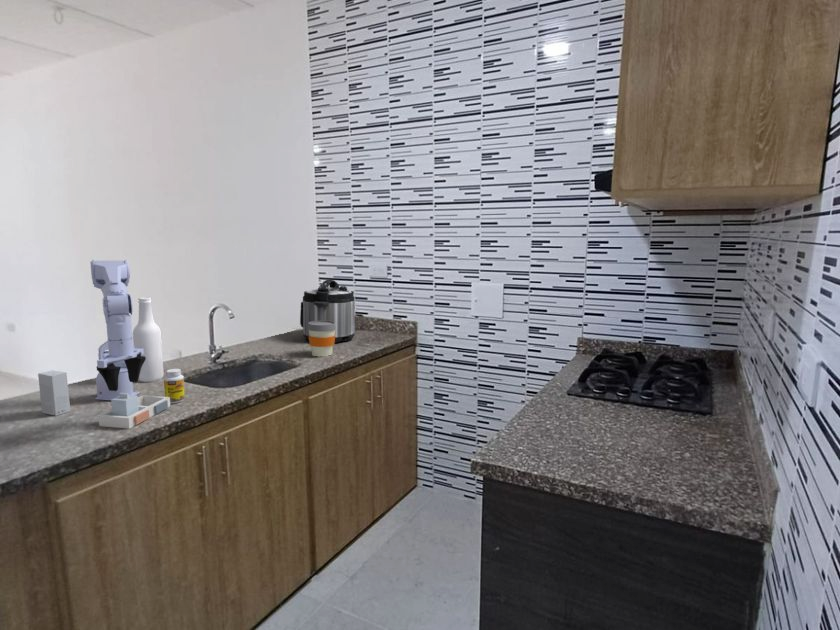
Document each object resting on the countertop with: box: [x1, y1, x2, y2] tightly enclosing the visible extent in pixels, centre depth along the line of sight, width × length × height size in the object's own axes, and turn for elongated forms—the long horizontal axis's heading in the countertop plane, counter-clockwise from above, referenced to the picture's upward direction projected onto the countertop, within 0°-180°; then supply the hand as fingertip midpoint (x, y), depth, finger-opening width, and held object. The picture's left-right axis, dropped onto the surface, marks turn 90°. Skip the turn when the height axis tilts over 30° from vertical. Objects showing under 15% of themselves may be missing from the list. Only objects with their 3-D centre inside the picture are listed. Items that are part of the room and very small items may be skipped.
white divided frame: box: [97, 394, 171, 429], centre depth 131 cm, size 10×17×3 cm, turn 174°
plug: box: [110, 393, 139, 416], centre depth 127 cm, size 4×4×8 cm
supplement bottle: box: [163, 368, 186, 405], centre depth 143 cm, size 6×6×10 cm
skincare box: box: [37, 370, 71, 417], centre depth 131 cm, size 6×4×12 cm
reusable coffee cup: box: [308, 321, 336, 357], centre depth 206 cm, size 13×13×15 cm
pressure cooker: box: [299, 279, 356, 343], centre depth 238 cm, size 30×28×32 cm
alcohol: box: [132, 296, 165, 383], centre depth 162 cm, size 9×9×30 cm
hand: (123, 386), depth 126 cm, fingers open, 7 cm apart
